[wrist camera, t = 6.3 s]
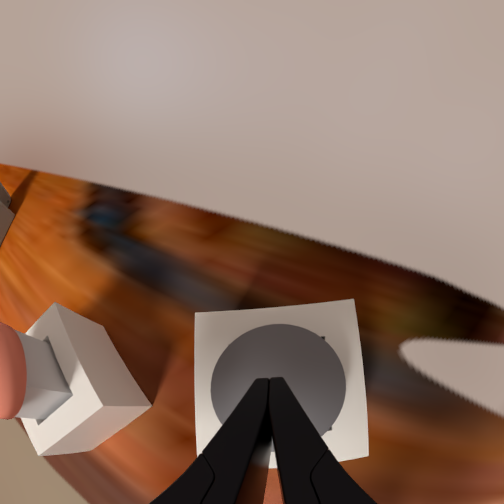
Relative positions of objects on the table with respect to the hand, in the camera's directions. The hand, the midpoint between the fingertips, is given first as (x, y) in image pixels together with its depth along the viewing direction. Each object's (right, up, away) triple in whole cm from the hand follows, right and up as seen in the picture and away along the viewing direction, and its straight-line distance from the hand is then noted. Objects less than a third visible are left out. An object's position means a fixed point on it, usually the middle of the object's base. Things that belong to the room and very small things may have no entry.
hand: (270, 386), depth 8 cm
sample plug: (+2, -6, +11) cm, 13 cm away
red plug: (-16, -6, +9) cm, 19 cm away
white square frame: (-15, -9, +13) cm, 21 cm away
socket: (+2, -6, +11) cm, 13 cm away
